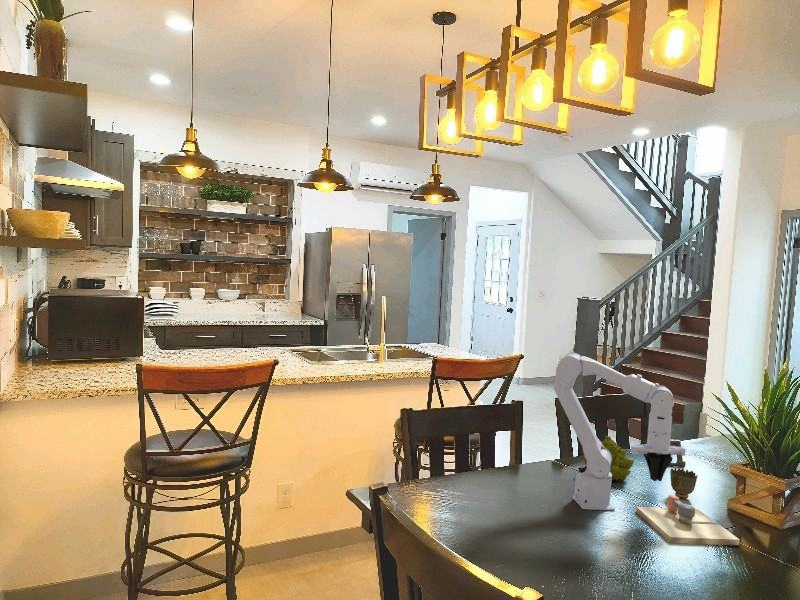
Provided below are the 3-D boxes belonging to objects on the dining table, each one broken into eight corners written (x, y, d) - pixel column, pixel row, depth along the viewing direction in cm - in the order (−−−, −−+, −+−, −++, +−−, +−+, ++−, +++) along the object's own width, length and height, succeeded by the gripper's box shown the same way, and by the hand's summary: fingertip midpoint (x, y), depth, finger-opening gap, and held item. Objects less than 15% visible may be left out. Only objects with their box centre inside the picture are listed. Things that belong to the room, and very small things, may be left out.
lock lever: (697, 523, 151) (698, 510, 151) (682, 523, 151) (683, 509, 151) (677, 508, 161) (678, 495, 161) (663, 507, 160) (664, 494, 160)
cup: (698, 504, 170) (700, 477, 170) (671, 500, 172) (674, 474, 171) (690, 494, 178) (693, 469, 177) (665, 491, 179) (667, 466, 178)
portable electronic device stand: (660, 466, 203) (662, 443, 203) (650, 459, 211) (652, 436, 211) (685, 468, 203) (687, 444, 203) (674, 460, 211) (676, 438, 211)
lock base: (670, 542, 143) (671, 529, 143) (636, 512, 161) (637, 499, 161) (739, 545, 145) (740, 531, 144) (697, 514, 162) (699, 502, 162)
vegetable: (568, 463, 187) (593, 425, 190) (587, 480, 197) (610, 443, 199) (607, 487, 176) (632, 446, 178) (624, 503, 185) (648, 464, 188)
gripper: (640, 434, 153) (637, 484, 154) (693, 436, 154) (689, 486, 155) (628, 427, 160) (625, 475, 161) (678, 429, 161) (675, 476, 162)
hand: (655, 479), depth 158 cm, fingers closed
